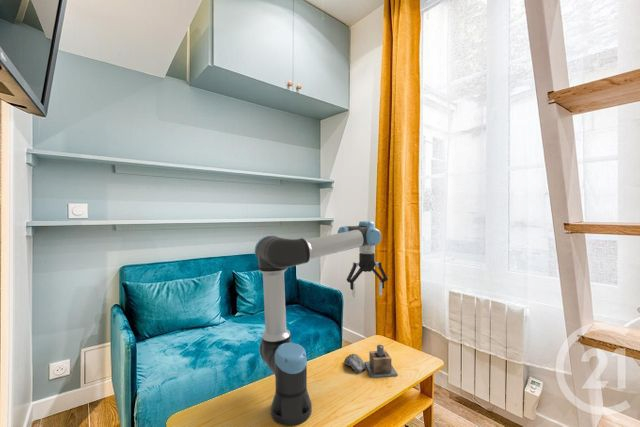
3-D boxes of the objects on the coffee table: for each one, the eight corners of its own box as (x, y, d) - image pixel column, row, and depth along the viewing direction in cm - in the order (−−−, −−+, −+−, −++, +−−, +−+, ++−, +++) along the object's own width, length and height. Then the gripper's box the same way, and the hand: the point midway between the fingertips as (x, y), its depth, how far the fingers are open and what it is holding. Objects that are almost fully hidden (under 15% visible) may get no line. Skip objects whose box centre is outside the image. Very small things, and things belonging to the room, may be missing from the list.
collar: (374, 372, 134) (374, 359, 134) (369, 363, 142) (369, 351, 142) (391, 371, 135) (391, 358, 135) (385, 362, 143) (385, 350, 143)
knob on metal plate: (371, 377, 132) (371, 353, 132) (364, 363, 144) (364, 341, 144) (397, 375, 133) (397, 351, 133) (388, 361, 145) (388, 339, 145)
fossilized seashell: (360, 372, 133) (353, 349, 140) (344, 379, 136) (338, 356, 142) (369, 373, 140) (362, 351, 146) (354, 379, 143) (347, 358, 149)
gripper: (343, 254, 140) (343, 298, 141) (394, 253, 143) (394, 296, 143) (340, 252, 148) (340, 294, 148) (389, 250, 150) (389, 292, 151)
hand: (367, 295), depth 146 cm, fingers open, 13 cm apart
